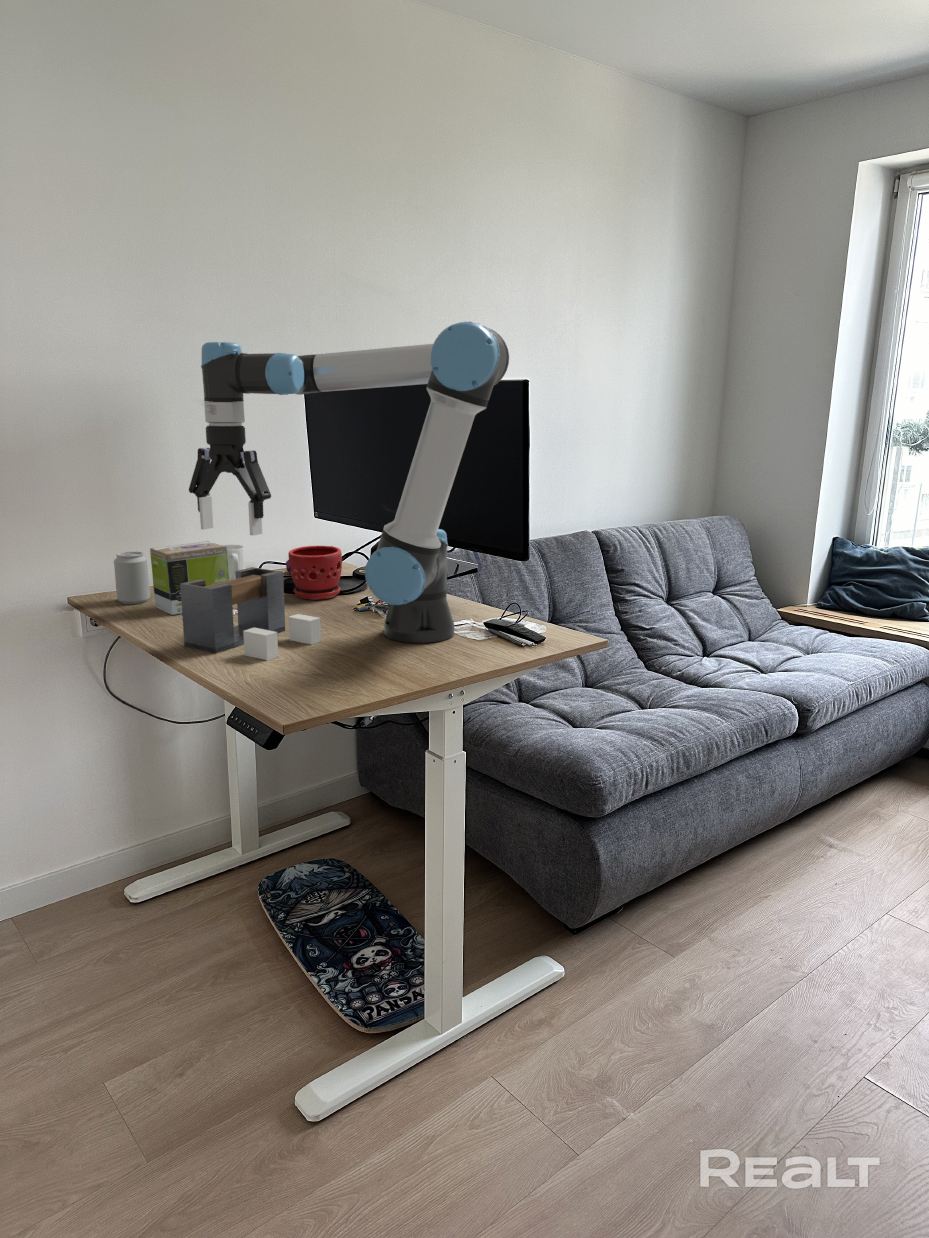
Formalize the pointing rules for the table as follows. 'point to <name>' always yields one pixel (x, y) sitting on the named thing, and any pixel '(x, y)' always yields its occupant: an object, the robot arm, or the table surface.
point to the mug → (235, 559)
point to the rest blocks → (265, 641)
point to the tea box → (185, 570)
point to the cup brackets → (230, 611)
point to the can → (131, 577)
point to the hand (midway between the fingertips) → (231, 531)
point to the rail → (244, 588)
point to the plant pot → (316, 571)
